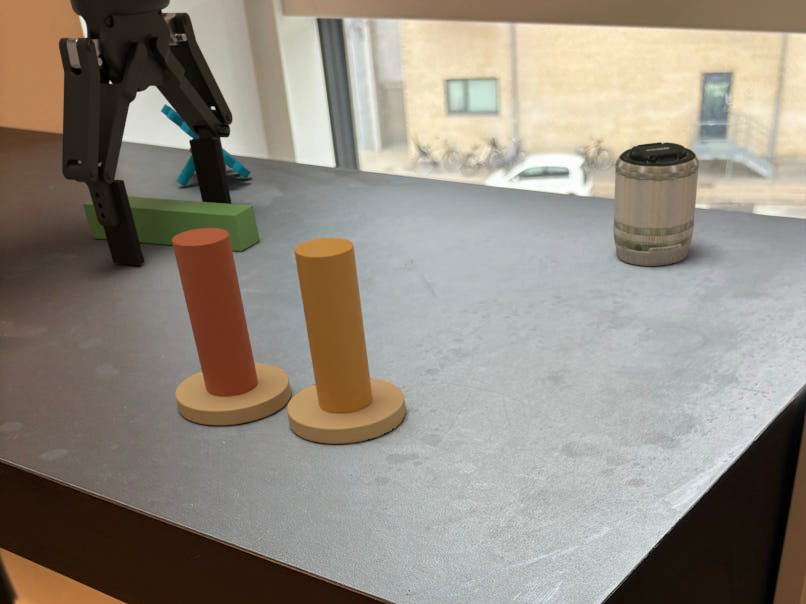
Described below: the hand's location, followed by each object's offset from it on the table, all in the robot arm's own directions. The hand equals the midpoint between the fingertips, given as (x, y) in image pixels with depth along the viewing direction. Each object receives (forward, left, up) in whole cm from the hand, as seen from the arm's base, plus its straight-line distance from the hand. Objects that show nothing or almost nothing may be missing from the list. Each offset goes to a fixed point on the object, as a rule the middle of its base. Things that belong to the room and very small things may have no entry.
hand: (176, 238), depth 90 cm
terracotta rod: (+24, -27, 0) cm, 36 cm away
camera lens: (+42, +6, 0) cm, 42 cm away
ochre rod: (+32, -27, 0) cm, 42 cm away
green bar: (0, 0, 0) cm, 0 cm away
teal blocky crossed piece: (-8, +18, 0) cm, 20 cm away
